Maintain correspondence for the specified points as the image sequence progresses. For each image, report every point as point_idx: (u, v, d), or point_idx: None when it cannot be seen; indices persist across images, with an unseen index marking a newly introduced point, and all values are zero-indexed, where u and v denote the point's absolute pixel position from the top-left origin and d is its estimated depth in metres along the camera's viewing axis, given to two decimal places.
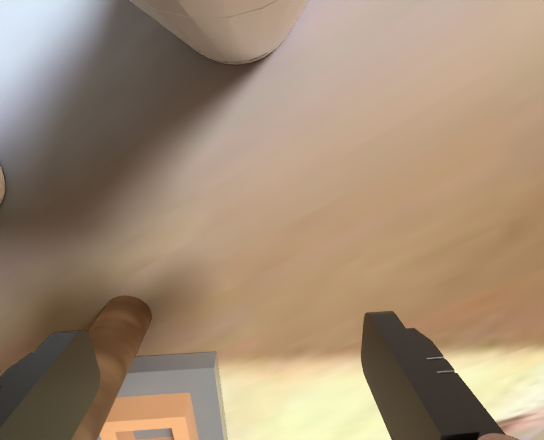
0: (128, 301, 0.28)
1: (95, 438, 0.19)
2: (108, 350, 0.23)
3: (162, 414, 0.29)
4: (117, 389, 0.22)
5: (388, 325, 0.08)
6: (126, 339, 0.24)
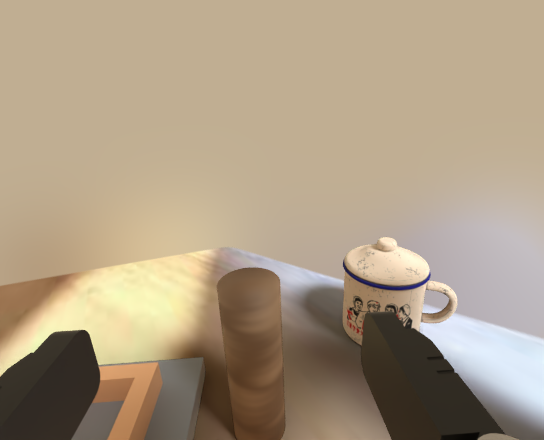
0: (284, 424, 0.25)
1: (245, 336, 0.20)
2: (279, 380, 0.22)
3: (132, 434, 0.21)
4: (250, 374, 0.21)
5: (388, 325, 0.08)
6: (273, 403, 0.22)
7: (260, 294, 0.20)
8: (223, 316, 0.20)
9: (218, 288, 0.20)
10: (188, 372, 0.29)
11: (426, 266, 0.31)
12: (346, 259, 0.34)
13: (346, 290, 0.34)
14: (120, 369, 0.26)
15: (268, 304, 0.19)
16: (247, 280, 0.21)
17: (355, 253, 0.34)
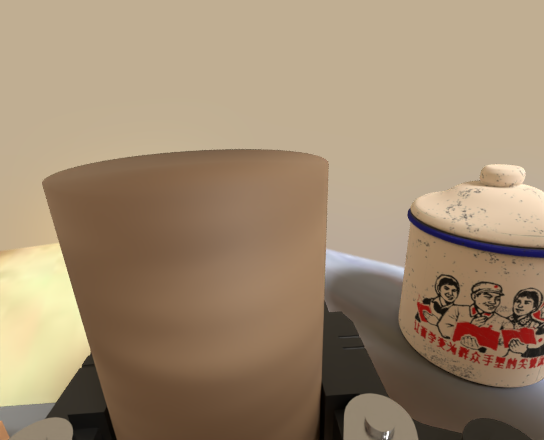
0: None
1: (165, 392, 0.04)
2: None
3: None
4: None
5: None
6: None
7: (239, 180, 0.04)
8: None
9: (59, 172, 0.05)
10: None
11: None
12: (418, 207, 0.18)
13: (416, 266, 0.18)
14: None
15: (280, 228, 0.04)
16: (196, 161, 0.05)
17: (432, 198, 0.19)
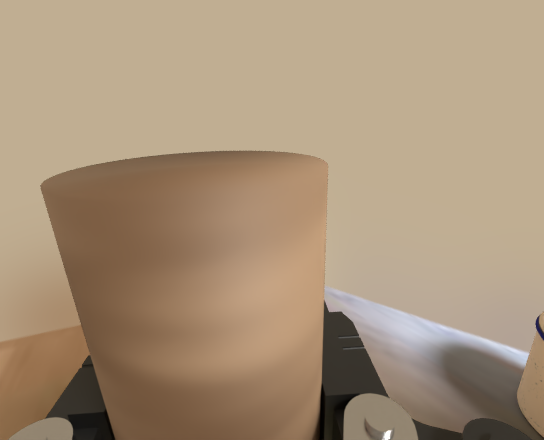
0: None
1: (164, 395, 0.04)
2: None
3: None
4: None
5: None
6: None
7: (238, 183, 0.04)
8: None
9: (58, 175, 0.05)
10: None
11: None
12: None
13: None
14: None
15: (280, 232, 0.04)
16: (196, 163, 0.05)
17: None
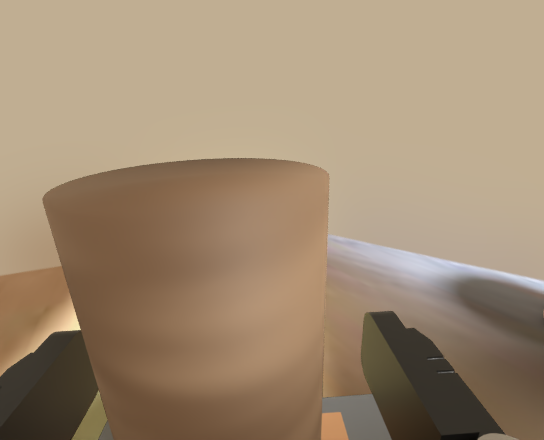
0: None
1: (166, 408, 0.04)
2: None
3: None
4: None
5: (388, 325, 0.08)
6: None
7: (240, 196, 0.04)
8: None
9: (59, 187, 0.05)
10: (375, 426, 0.15)
11: None
12: None
13: None
14: None
15: (281, 245, 0.04)
16: (197, 172, 0.05)
17: None
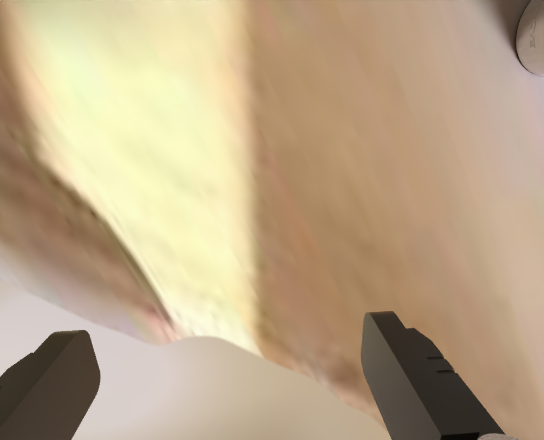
0: None
1: None
2: None
3: None
4: None
5: (388, 325, 0.08)
6: None
7: None
8: None
9: None
10: None
11: None
12: None
13: None
14: None
15: None
16: None
17: None
